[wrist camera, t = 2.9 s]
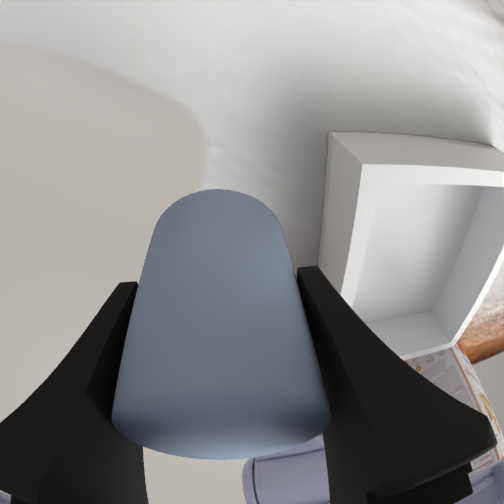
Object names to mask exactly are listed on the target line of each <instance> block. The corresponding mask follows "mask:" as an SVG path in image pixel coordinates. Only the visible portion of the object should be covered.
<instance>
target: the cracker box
mask: <svg viewBox="0 0 504 504" xmlns="http://www.w3.org/2000/svg"><path fill="white" fill-rule="evenodd" d="M404 361H405V362H406V363H407V364H408V365H410V366H411V367H412V368H413V369H414V370H416V371H417V372H418V373H420V374H421V375H422V376H424V377H425V378H427V379H428V380H429V381H431V382H432V383H433V384H435V385H436V386H437V387H439V388H440V389H442V390H443V391H445V392H446V393H448V394H449V395H451V396H452V397H454V398H455V399H457V400H459V401H460V402H462V403H464V404H466V405H468V406H470V407H471V408H473V409H475V410H477V411H479V412H481V413H483V414H484V415H486V416H488V419H489V421H490V423H491V425H492V428H493V430H494V433H495V436H496V439H497V442H498V443H497V445H496V447H494V448H493V449H491V450H490V451H488V452H486V453H485V454H483V455H481V456H480V457H478V458H476V459H474V460H473V461H471V462H470V463H471V466H472V472H470V473H468V475H469V477H470V476H472V475H474V474H476V473H477V472H479V471H481V470H483V469H484V468H486V467H488V466H489V465H491V464H493V463H495V462H496V461H498V460H500V459H503V458H504V437H503V435H502V432H501V430H500V427H499V425H498V422H497V420H496V417H495V415H494V412H493V410H492V408H491V405H490V403H489V401H488V399H487V396H486V394H485V392H484V390H483V388H482V386H481V384H480V381H479V379H478V377H477V375H476V373H475V371H474V369H473V367H472V365H471V363H470V361H469V359H468V357H467V355H466V353H465V352H464V350H463V349H462V347H461V346H460V345H459V344H458V343H457V342H456V344H455V345H454V346H453V347H450V348H447V349H444V350H440V351H437V352H434V353H430V354H426V355H423V356H419V357H415V358H412V359H408V360H404Z"/></svg>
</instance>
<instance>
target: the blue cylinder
mask: <svg viewBox="0 0 504 504" xmlns="http://www.w3.org/2000/svg"><path fill="white" fill-rule="evenodd" d="M330 420H331V414H330V410H329V405H328V401H327V397H326V393H325V388H324V384H323V380H322V376H321V372H320V368H319V364H318V360H317V356H316V352H315V348H314V344H313V340H312V336H311V332H310V329H309V325H308V321H307V317H306V313H305V310H304V306H303V302H302V298H301V295H300V291H299V287H298V284H297V280H296V276H295V273H294V269H293V265H292V262H291V258H290V255H289V251H288V248H287V244H286V241H285V237H284V234H283V230H282V228H281V225H280V223H279V221H278V219H277V218H276V216H275V215H274V214H273V213H272V211H271V210H270V209H269V208H268V207H266V206H265V205H264V204H263V203H261V202H260V201H258V200H257V199H255V198H253V197H251V196H249V195H246V194H243V193H240V192H236V191H231V190H222V189H215V190H205V191H199V192H196V193H193V194H190V195H188V196H186V197H183V198H181V199H180V200H178V201H176V202H175V203H173V204H172V205H171V206H170V207H169V208H168V209H167V210H166V211H165V212H164V213H163V214H162V216H161V217H160V219H159V220H158V222H157V224H156V226H155V229H154V233H153V236H152V239H151V242H150V246H149V249H148V253H147V256H146V259H145V263H144V266H143V270H142V274H141V278H140V282H139V285H138V289H137V293H136V297H135V301H134V305H133V309H132V313H131V317H130V322H129V326H128V330H127V335H126V339H125V344H124V349H123V354H122V359H121V364H120V369H119V374H118V380H117V386H116V391H115V398H114V404H113V410H112V423H113V425H114V427H115V428H116V429H117V430H118V431H119V432H120V433H121V434H122V435H123V436H125V437H126V438H128V439H129V440H131V441H133V442H135V443H137V444H139V445H141V446H144V447H146V448H149V449H152V450H155V451H158V452H163V453H166V454H170V455H176V456H181V457H188V458H196V459H217V460H220V459H221V460H225V459H243V458H251V457H258V456H264V455H269V454H273V453H277V452H281V451H285V450H288V449H291V448H294V447H296V446H299V445H301V444H303V443H305V442H307V441H310V440H311V439H313V438H315V437H316V436H318V435H319V434H320V433H322V432H323V431H324V430H325V429H326V428H327V426H328V425H329V423H330Z"/></svg>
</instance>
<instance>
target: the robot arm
mask: <svg viewBox="0 0 504 504" xmlns="http://www.w3.org/2000/svg"><path fill="white" fill-rule="evenodd" d="M297 284H298V287H299V291H300V295H301V298H302V302H303V306H304V310H305V313H306V317H307V321H308V325H309V329H310V332H311V336H312V340H313V344H314V348H315V352H316V356H317V360H318V364H319V368H320V372H321V376H322V380H323V384H324V388H325V393H326V397H327V401H328V405H329V410H330V414H331V420H330V423H329V425H328V426H327V428H326V429H325V430H324V431H323V432H322V433H320V434H319V435H318V436H316V437H315V438H313V439H311V440H310V441H307V442H305V443H303V444H301V445H299V446H296V447H294V448H291V449H288V450H285V451H281V452H277V453H273V454H269V455H264V456H258V457H251V458H249V459H248V460H247V462H246V463H245V464H244V468H243V474H242V481H243V490H244V496H245V499H246V503H247V504H328V503H330V504H504V458H503V459H500V460H498V461H496V462H495V463H493V464H491V465H489V466H488V467H486V468H484V469H483V470H481V471H479V472H477V473H476V474H474V475H472V476H470V477H469V475H468V473H470V472H472V466H471V463H470V462H471V461H473V460H474V459H476V458H478V457H480V456H481V455H483V454H485V453H486V452H488V451H490V450H491V449H493V448H494V447H496V445H497V443H498V442H497V439H496V436H495V433H494V430H493V428H492V425H491V423H490V421H489V419H488V416H486V415H484V414H483V413H481V412H479V411H477V410H475V409H473V408H471V407H470V406H468V405H466V404H464V403H462V402H460V401H459V400H457V399H455V398H454V397H452V396H451V395H449V394H448V393H446V392H445V391H443V390H442V389H440V388H439V387H437V386H436V385H435V384H433V383H432V382H431V381H429V380H428V379H427V378H425V377H424V376H422V375H421V374H420V373H418V372H417V371H416V370H414V369H413V368H412V367H411V366H410V365H408V364H407V363H406V362H405V361H404V360H403V359H401V358H400V357H399V356H398V355H397V354H396V353H395V352H394V351H392V350H391V349H390V348H389V347H388V346H387V345H386V344H385V343H384V342H383V341H382V340H381V339H380V338H379V337H378V336H377V335H376V334H375V333H374V332H373V331H372V330H371V329H370V328H369V327H368V326H367V325H366V324H365V323H364V322H363V321H362V319H361V318H360V317H359V316H358V315H357V314H356V313H355V312H354V310H353V309H352V308H351V307H350V306H349V305H348V304H347V302H346V301H345V300H344V299H343V298H342V296H341V295H340V294H339V293H338V291H337V290H336V289H335V288H334V287H333V285H332V284H331V283H330V281H329V280H328V279H327V278H326V276H325V275H324V274H323V272H322V271H321V270H320V268H318V267H317V266H310V267H300V268H298V269H297ZM137 289H138V283H137V282H124V283H123V282H122V283H119V284H118V286H117V287H116V288H115V290H114V291H113V292H112V294H111V295H110V296H109V298H108V299H107V301H106V302H105V303H104V305H103V306H102V308H101V309H100V310H99V312H98V313H97V315H96V316H95V318H94V319H93V320H92V322H91V323H90V324H89V326H88V327H87V329H86V330H85V331H84V333H83V334H82V335H81V337H80V338H79V340H78V341H77V342H76V343H75V345H74V346H73V347H72V349H71V350H70V351H69V353H68V354H67V355H66V357H65V358H64V359H63V360H62V361H61V363H60V364H59V365H58V367H57V368H56V369H55V370H54V371H53V372H52V373H51V374H50V376H49V377H48V378H47V379H46V380H45V381H44V382H43V383H42V384H41V385H40V386H39V387H38V388H37V389H36V390H35V391H34V393H32V395H30V396H29V398H28V399H27V400H26V401H25V402H24V403H22V404H21V405H20V406H19V407H18V408H17V409H16V410H15V411H14V412H13V413H11V414H10V415H9V416H8V417H7V418H6V419H4V420H3V421H2V422H1V423H0V490H1V491H3V492H1V491H0V504H148V498H147V491H146V483H145V474H144V462H143V446H141V445H139V444H137V443H135V442H133V441H131V440H129V439H128V438H126V437H125V436H123V435H122V434H121V433H120V432H119V431H118V430H117V429H116V428H115V427H114V425H113V423H112V410H113V404H114V398H115V391H116V386H117V380H118V374H119V369H120V364H121V359H122V354H123V349H124V344H125V339H126V335H127V330H128V326H129V322H130V317H131V313H132V309H133V305H134V301H135V297H136V293H137ZM4 492H5V493H4ZM6 493H8V494H10V495H11V496H10V495H8V494H6Z"/></svg>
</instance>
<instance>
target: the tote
mask: <svg viewBox="0 0 504 504" xmlns="http://www.w3.org/2000/svg"><path fill="white" fill-rule="evenodd" d="M503 261H504V153H503V152H501V151H500V150H498V149H497V148H495V147H494V146H490V145H485V144H478V143H472V142H466V141H458V140H451V139H443V138H434V137H425V136H414V135H402V134H388V133H369V132H330V131H329V135H328V153H327V168H326V182H325V195H324V206H323V217H322V227H321V237H320V247H319V255H318V264H317V267H318V268H320V270H321V271H322V272H323V274H324V275H325V276H326V278H327V279H328V280H329V281H330V283H331V284H332V285H333V287H334V288H335V289H336V290H337V291H338V293H339V294H340V295H341V296H342V298H343V299H344V300H345V301H346V302H347V304H348V305H349V306H350V307H351V308H352V309H353V310H354V312H355V313H356V314H357V315H358V316H359V317H360V318H361V319H362V321H363V322H364V323H365V324H366V325H367V326H368V327H369V328H370V329H371V330H372V331H373V332H374V333H375V334H376V335H377V336H378V337H379V338H380V339H381V340H382V341H383V342H384V343H385V344H386V345H387V346H388V347H389V348H390V349H391V350H392V351H394V352H395V353H396V354H397V355H398V356H399V357H400V358H401V359H403V360H408V359H412V358H415V357H419V356H423V355H426V354H430V353H434V352H437V351H440V350H444V349H447V348H450V347H453V346H454V345H455V344H456V342H457V341H458V339H459V338H460V336H461V335H462V333H463V332H464V330H465V329H466V327H467V326H468V324H469V323H470V321H471V319H472V318H473V316H474V314H475V313H476V311H477V309H478V308H479V306H480V304H481V303H482V301H483V299H484V297H485V296H486V294H487V292H488V290H489V288H490V286H491V285H492V283H493V281H494V279H495V277H496V275H497V273H498V271H499V269H500V267H501V265H502V263H503Z"/></svg>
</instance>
